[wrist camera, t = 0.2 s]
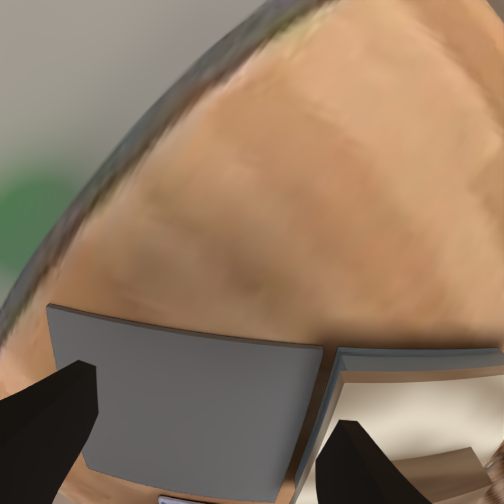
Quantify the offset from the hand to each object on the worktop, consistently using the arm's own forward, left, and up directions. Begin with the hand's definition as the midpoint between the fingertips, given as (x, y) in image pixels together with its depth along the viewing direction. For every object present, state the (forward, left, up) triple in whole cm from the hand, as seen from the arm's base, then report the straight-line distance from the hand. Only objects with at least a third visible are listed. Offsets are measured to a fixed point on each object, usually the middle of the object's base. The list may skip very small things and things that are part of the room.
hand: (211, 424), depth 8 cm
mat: (-12, +3, -10) cm, 16 cm away
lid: (-10, -14, -6) cm, 18 cm away
